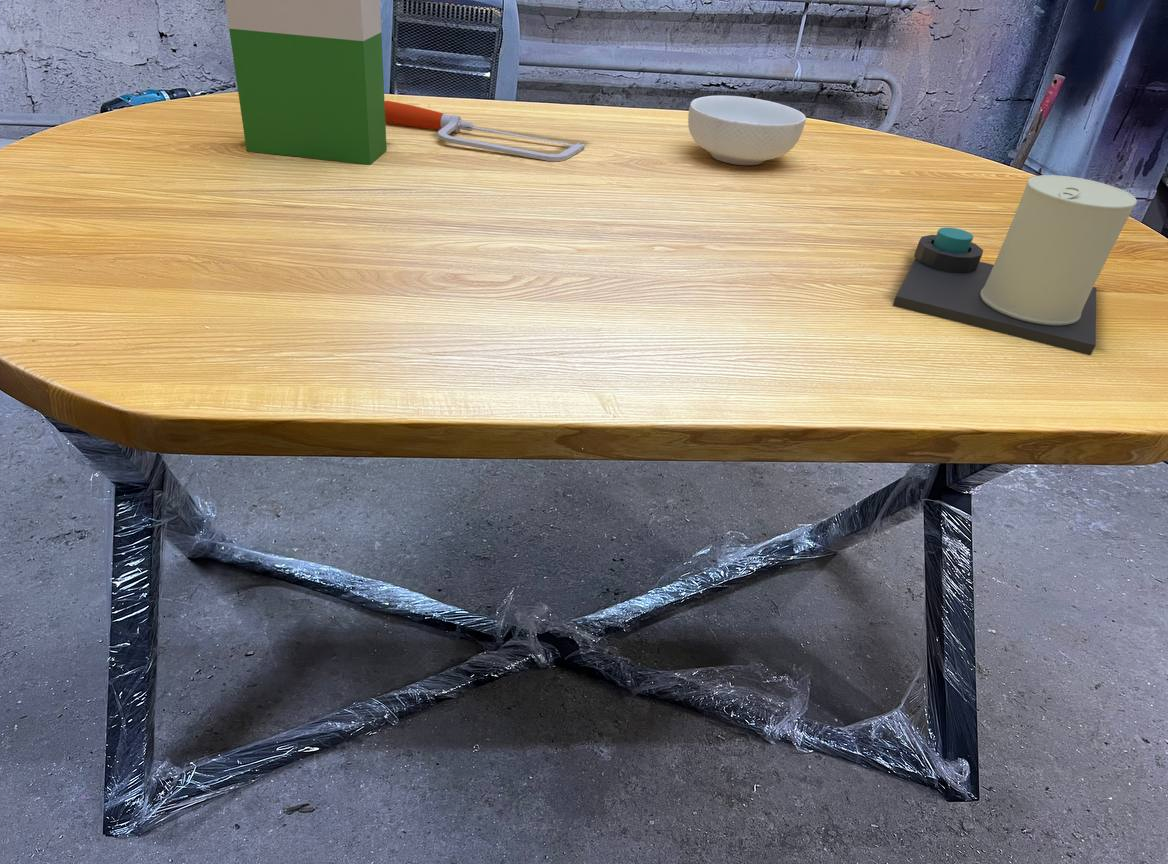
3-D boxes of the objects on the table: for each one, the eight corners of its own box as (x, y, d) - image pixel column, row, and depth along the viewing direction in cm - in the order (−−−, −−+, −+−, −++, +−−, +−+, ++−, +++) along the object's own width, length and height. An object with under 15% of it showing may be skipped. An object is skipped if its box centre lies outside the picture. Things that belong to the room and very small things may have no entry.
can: (963, 300, 83) (1012, 179, 76) (1002, 279, 88) (1052, 164, 81) (1058, 335, 78) (1120, 208, 70) (1093, 310, 83) (1155, 190, 76)
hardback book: (246, 151, 113) (217, -56, 99) (268, 137, 119) (244, -60, 105) (370, 164, 112) (358, -44, 97) (386, 150, 118) (377, -49, 103)
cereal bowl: (729, 180, 115) (740, 126, 111) (660, 147, 127) (667, 98, 123) (818, 168, 122) (831, 118, 118) (745, 139, 134) (754, 92, 129)
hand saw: (587, 133, 124) (572, 151, 116) (585, 154, 126) (570, 174, 118) (385, 97, 129) (358, 112, 121) (386, 118, 131) (359, 135, 123)
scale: (1091, 295, 89) (1104, 269, 87) (1090, 356, 77) (1105, 327, 75) (915, 255, 96) (924, 230, 94) (889, 306, 84) (899, 278, 82)
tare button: (969, 247, 91) (975, 232, 90) (965, 257, 89) (971, 241, 88) (935, 240, 92) (940, 224, 91) (930, 249, 90) (936, 234, 89)
